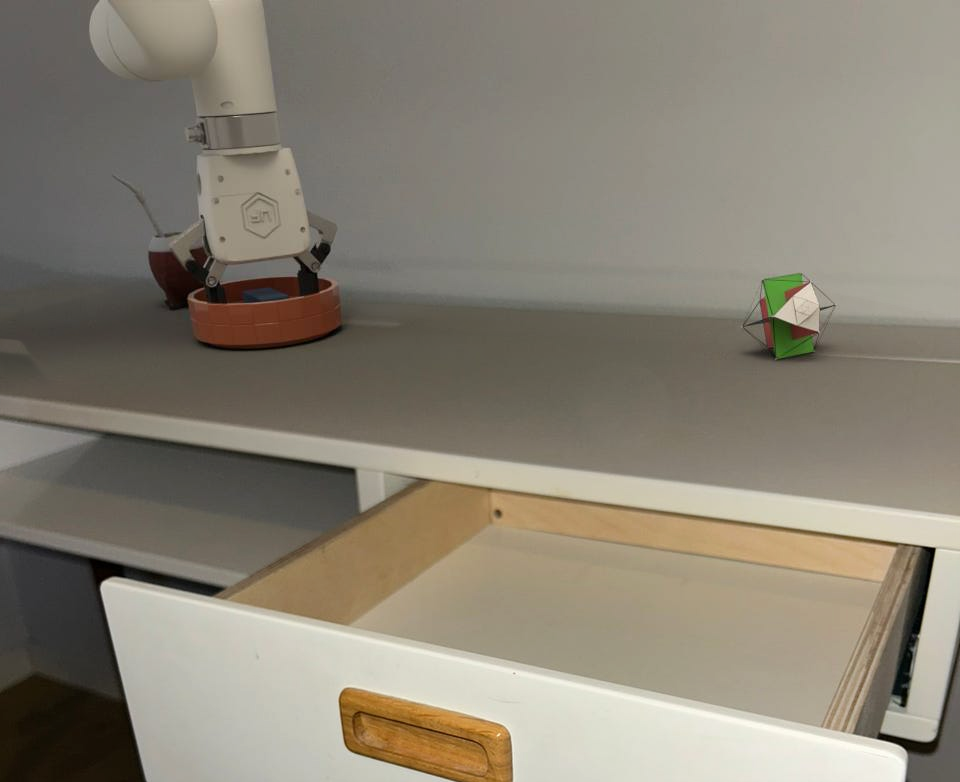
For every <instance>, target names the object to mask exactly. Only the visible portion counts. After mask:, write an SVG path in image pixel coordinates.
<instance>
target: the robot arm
mask: <svg viewBox="0 0 960 782" xmlns="http://www.w3.org/2000/svg"><path fill="white" fill-rule="evenodd" d="M88 27H89V29H88V30H89V31H88V32H89V38H90V43H91V47H92V48H93V50H94V52H95V55H96V56H97V57H98V60H99V61H100V62H101V63H102V64H103V65H104V66H105V67H106V68H107V69H108V70H109V71H110V72H112V73H113V74H115V75H116V76H118V77H120V78H123V79H125V80H128V81H133V82H137V83H152V82H163V81H170V80H174V81H175V80H183V79H189V78H190V80H191V86H192V93H193V98H194V104H195V110H196V116H197V117H195V122H194V124H192V126H191V125H190V126H185V127H184V136H185V140H186V142H187V143H194V144H198V145H199V148H200V149H202V153H200V154H197V157H196V190H197V191H196V192H197V206H198V218H199V219H198V220H197V221H195V222H194V223H192V224H191V225H190V226H189V227H188V228H186V229H185V230H184V232H183V231H182V232H183V233H181V234H180V235H179V236H177V237H176V238H175V239H174V240H172V241H171V242H170V243H169V248H170V250H171V251H172V253H173V254H174V255H175V257H176V258H177V259H178V261H179V262H180V263H181V265H182V266H183V268H184V269H185V270H186V271H187V272H189V273H190V274H191V275H193V276H194V277H195V278H196V279H198V280H199V281H200V282H201V283H203V284H204V288H205V293H206V299H207V302H209V303H225V304H227V300H226V294H225V289H224V287H223V286H220V283H221V282H220V280H221V279H222V276H223V275H224V273H225V271H226V269H227V267H228V265H230V266H231V265H232V266H233V265H235V266H236V265H244V264H245V265H246V264H251V263H260V262H268V261H274V260H275V261H276V260H282V259H288V258H292V259H293V260H295V262H296V263H297V264H298V265H299V268H300V269H298V271H297V272H296V276H297V277H298V284H299V292H300V297H302V296H306V295H311V294H315V293H318V292H319V284H318V277H319V276H318V273H319V272H320V271H321V269H322V265H323V263H324V262H325V260H326V259H327V257H328V256H329V255H330V253H331V251H332V248H331V247H332V245H333V242H334V240H335V237H336V234H337V231H338V226H337V224H336V223H335V222H333V221H331V220H328V219H326V218H324V217H322V216H320V215H318V214H315V213H313V212H311V211H309V210H307V207H306V203H305V197H304V194H303V189H302V184H301V180H300V176H299V172H298V168H297V165H296V161H295V159H294V156H293V153H292V149H291V148H290V147H282V140H281V132H280V125H279V118H278V117H279V116H278V112H277V111H278V110H277V108H278V107H277V101H276V93H275V85H274V78H273V71H272V62H271V55H270V54H271V53H270V47H269V39H268V32H267V25H266V16H265V9H264V4H263V1H262V0H99V1H98V2H97V4H95V6H94V7H93V10H92V12H91V14H90V19H89V26H88ZM310 227H311V228H312V229H315V230H317V232H318V237H317V241H316V242H315V243H314V244H313V247H311V245H312V238H311V229H310ZM201 238H202V242H203V246H204V250H205V253H206V255H207V256H208V259H207V261H206V263H205V264H204V266H201V265H200V264H199V263H198V262H196V261H195V260H194V258H193V257H192V255H191V254H190V251H189V249H190V247H191V246H192V245H193V244H195V243H196V242H197V241H199V240H200V239H201Z"/></svg>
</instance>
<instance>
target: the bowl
mask: <svg viewBox="0 0 960 782" xmlns="http://www.w3.org/2000/svg"><path fill="white" fill-rule="evenodd" d="M318 284H319V292H318V293H315V294H311V295H306V296H302V297H300V292H299V284H298V277H297V275H274V276H273V275H272V276H263V277H252V278H251V277H250V278H243V279H238V280H230V281H225V282H220V286H223V287H224V289H225V294H226V300H227V304H225V303H209V302H207V299H206V293H205V288H201V289H198V290H196V291H194V292H192V293H190V294H189V295H188V298H187V299H188V305H189V306H188V310H189V316H190V320H191V321H190V322H191V327H192V332H193V337H194V338H195V339H197V340H198V341H199V342H202V343H207V344H209V345H211V346H214V347H219V348H223V349H236V350H250V349H251V350H253V349H254V350H255V349H269V348H276V347H277V348H279V347H285V346H291V345H292V346H293V345H297V344H302V343H307V342H310V341H314V340H316V339H319V338H322V337H324V336H326V335H329V334H330V333H331V332H332V331H334V330H336V329H338V328H339V327H340V326H341V325H342V324H343V315H342V308H341V307H342V306H341V300H340V299H341V298H340V290H339V289H340V288H339V284H338V282H337V280H335V279H333V278H329V277H325V276H324V277H323V276H318ZM268 287H269V288H272V289H274V290H276V291H279V292H281V293H284V294H286V295H288V296H289V299H284V300H278V301H268V302H257V303H244V300H243V293H242V292H243V291H248V290H255V289H262V288H268Z"/></svg>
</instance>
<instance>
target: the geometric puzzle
mask: <svg viewBox="0 0 960 782" xmlns="http://www.w3.org/2000/svg"><path fill="white" fill-rule="evenodd" d="M803 277H804V278H805V279H807V280H806V281H804V280H803ZM760 283H761V284H760V285H759V286H758V288H760V293H759V300H758V302H757V304H756V305H755V307H754V308H753V309H752V311H751V312H750V311H748V312H747V314H746V316H747V318H745V319H744V322H743V324H742V325H741V326H740V328H741V329H743V330H745V331H746V333H748V334H749V335H750V336H751V337H753V338H754V340H755V341H756V342H758V344H759V345H760V346H761V347H762V348H764V346H765V347H766V350H767V349H768V352H769V353H770V354H771V356H772V357H773V358H774V360H775V361H777V360H780V359H784V358H790V357H795V356H799V355H805V354H809V353H813V352H815V353H816V348H817V347H818V344H819V342H820V340H821V338H822V335H823V334H824V331H825V330H826V328H827V325H828V323H829V321H830V319H831V315H833V312H834V310H835V308H836V306H837V305H838V304H837V303H834V304H832V305H828V306H821V305H820V302H819V299H818V296H817V294H816V291H815V288H816V289H817V290H818V291H820V293H821V294H823V296H825V297H826V298H827V299H828V300H829V301H830V302H832V299H830V297H828V296H827V295H826V294H825V293H824V292H823V291H821V290H820V289H819V287H817V286H816V285H815V284H814V283H813V281H812V280H810V279H809V278H807V277H806V275H805V274H803V272H802V271H800V272H799V273H792V274H787V275H780V276H774V277H769V278H763V277H762V278H761V282H760ZM814 287H815V288H814ZM762 289H763V292H764V297H763V298H762ZM757 293H758V292H756V293H755V295H757ZM754 301H755V299H753V301H752V302H754ZM752 305H753V304H750V307H749V309H751V307H752ZM758 305H759V306H760V312H761V318H762V319H760V320H756V321H754V322H751V323H748V324H746V323H747V321H748V320H749V319H750V317H751V316H752V314H753V312H754V311H755V309H756V308H757V306H758ZM832 307H833V308H832ZM829 308H832V310H831V312H830V313H829V315H828V317H827V318H826V319H825V322H824V323H823V324H822V327H821V328H820V325H821V324H820V321H821V319H820V318H821V317H820V316H821V311H824V310H826V309H829ZM749 312H750V314H749ZM825 323H826V325H825ZM761 324H762V325H763V331H764V336H765V343H766V344H764V342H762V341H761V340H759V339H758V338H757V337H756V336H755V335H753V334H752V333H751V332H750V331H749V330H747V329H746V327H750V326H756V325H761ZM824 326H825V327H824ZM823 327H824V329H823ZM822 329H823V331H822ZM821 331H822V333H821ZM820 333H821V336H820ZM815 336H817V338H816V341H815V345H814V343H813V338H814V337H815ZM819 336H820V337H819ZM771 349H772V350H773V351H774V354H773V352H772V350H771Z"/></svg>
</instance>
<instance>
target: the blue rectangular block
mask: <svg viewBox="0 0 960 782" xmlns="http://www.w3.org/2000/svg"><path fill="white" fill-rule="evenodd" d="M242 293H243V300H244V303H257V302H268V301H278V300H284V299H289V296H288V295H286V294H284V293H281V292H279V291H276V290H274V289H272V288H269V287H268V288H262V289H255V290H248V291H243V292H242Z"/></svg>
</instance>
